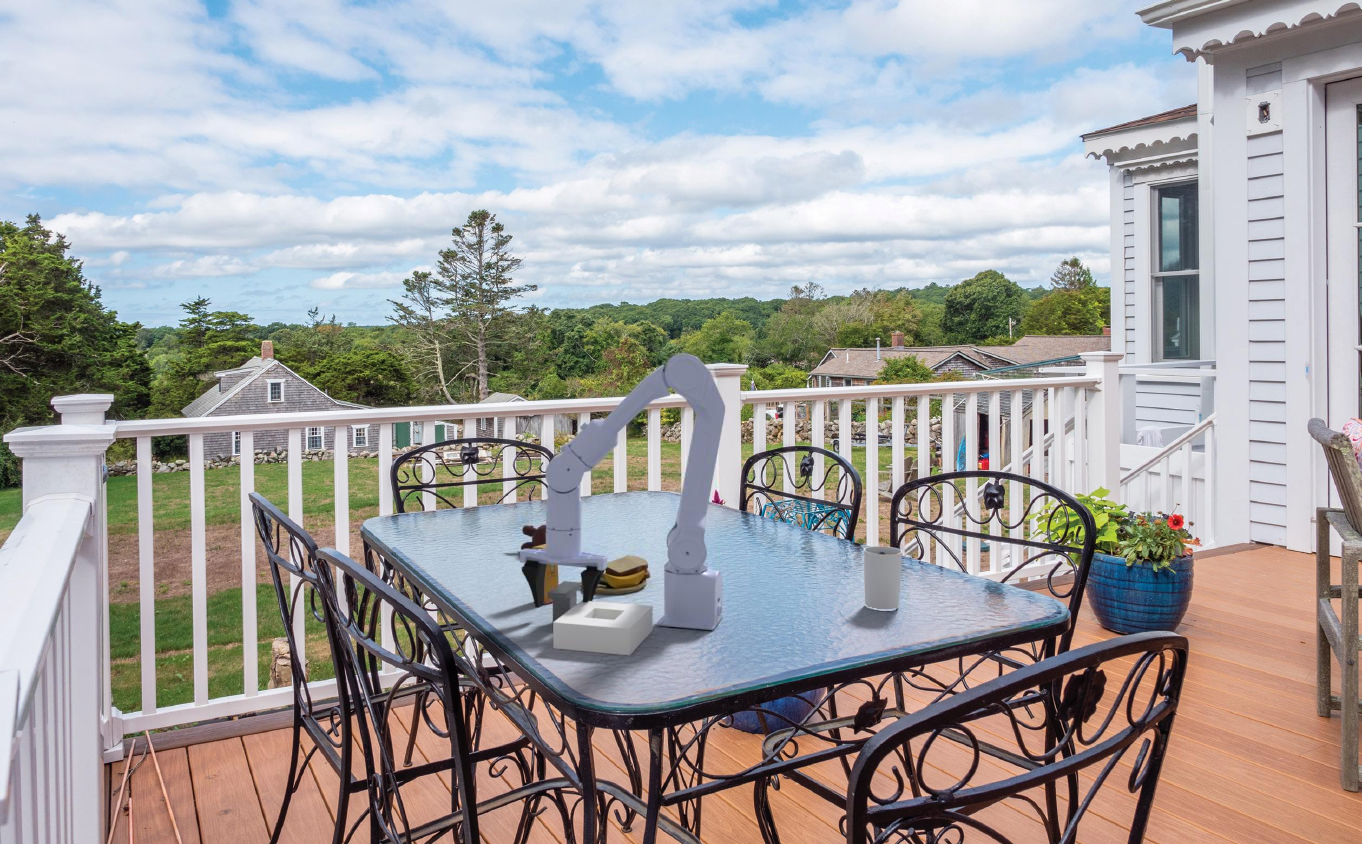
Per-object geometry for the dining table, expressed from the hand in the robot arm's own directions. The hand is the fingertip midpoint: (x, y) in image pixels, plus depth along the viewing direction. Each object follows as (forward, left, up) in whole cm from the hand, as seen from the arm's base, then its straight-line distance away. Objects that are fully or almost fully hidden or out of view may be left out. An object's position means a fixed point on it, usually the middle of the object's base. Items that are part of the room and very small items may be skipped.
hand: (562, 608), depth 148 cm
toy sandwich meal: (-1, -24, -3) cm, 24 cm away
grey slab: (-1, +1, -2) cm, 2 cm away
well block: (-10, +7, -2) cm, 12 cm away
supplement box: (+7, -10, -3) cm, 13 cm away
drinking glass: (-51, -23, -3) cm, 55 cm away
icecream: (+21, -44, -3) cm, 49 cm away
